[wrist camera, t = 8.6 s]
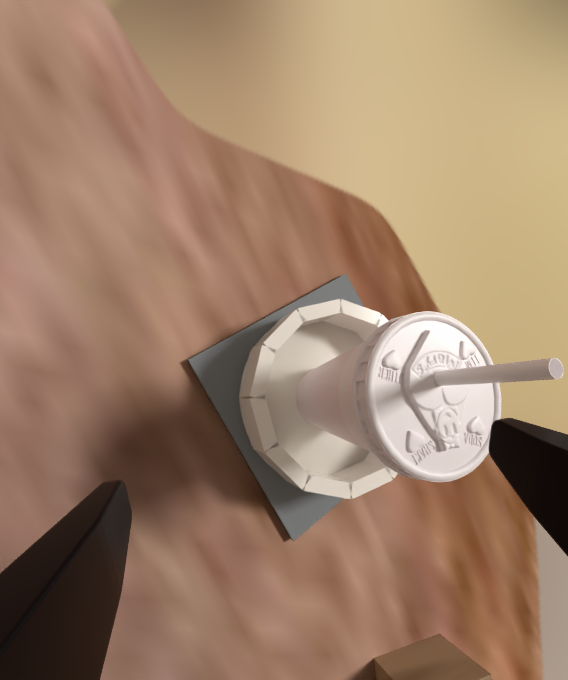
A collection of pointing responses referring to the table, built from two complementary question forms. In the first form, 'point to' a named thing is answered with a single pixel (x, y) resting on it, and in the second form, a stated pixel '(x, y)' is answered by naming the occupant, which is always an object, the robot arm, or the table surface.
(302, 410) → the smoothie
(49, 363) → the table surface
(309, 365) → the white bowl
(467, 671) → the walnut block
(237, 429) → the mat
